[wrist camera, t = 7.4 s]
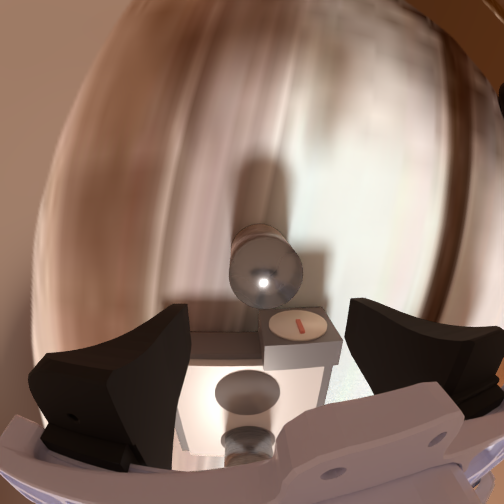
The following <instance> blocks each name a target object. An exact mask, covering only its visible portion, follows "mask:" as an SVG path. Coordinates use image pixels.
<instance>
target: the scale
mask: <svg viewBox="0 0 504 504" xmlns="http://www.w3.org/2000/svg"><path fill="white" fill-rule="evenodd" d="M190 334H191V342H192V346H191V354H190V361H189V365H188V369H187V372H186V376H185V380H184V383H183V387H182V390H181V394H180V397H179V401H178V406H177V412H176V420H175V429H176V432H177V435H178V439H179V442H180V445H181V448H182V451H190V454H191V455H201V456H225V436H226V434H227V433H228V432H229V431H231V430H233V429H235V428H239V427H245V426H253V427H259V428H262V429H265V430H266V431H268V432H269V433H270V435H271V441H272V448H273V455H274V450H275V441H276V438H277V436H278V435H279V433H280V431H281V429H282V428H283V426H284V425H285V424H286V423H288V422H289V421H291V420H292V419H294V418H295V417H297V416H298V415H300V414H301V413H303V412H304V411H306V410H310V409H313V408H317V407H320V406H323V405H324V403H325V399H326V394H327V390H328V386H329V381H330V377H331V372H332V367H333V365H338V363H339V358H340V353H341V348H342V343H343V339H342V338H341V336H340V335H339V333H338V331H337V330H336V328H335V327H334V325H333V324H332V322H331V320H330V319H329V317H328V316H327V314H326V312H325V311H324V309H323V308H322V307H310V308H288V309H259V314H258V332H190Z"/></svg>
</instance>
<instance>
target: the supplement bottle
mask: <svg viewBox="0 0 504 504" xmlns="http://www.w3.org/2000/svg"><path fill="white" fill-rule="evenodd" d="M499 101H500V106H501V110H502V113H503V116H504V83H503V84H502V85H501V86H500V89H499Z"/></svg>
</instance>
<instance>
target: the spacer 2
mask: <svg viewBox="0 0 504 504" xmlns="http://www.w3.org/2000/svg"><path fill="white" fill-rule="evenodd" d="M272 457H273V448H272V441H271V435H270V433H269V432H268V431H266V430H265V429H262V428H259V427H253V426H245V427H239V428H235V429H233V430H231V431H229V432H228V433H227V434H226V436H225V462H224V468H225V467H231V466H237V465H243V464H248V463H253V462H258V461H263V460H267V459H272Z"/></svg>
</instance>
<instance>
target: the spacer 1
mask: <svg viewBox="0 0 504 504" xmlns="http://www.w3.org/2000/svg"><path fill="white" fill-rule="evenodd" d="M302 278H303V268H302V263H301V261H300V258H299V256H298V255H297V253H296V252H295V251H294V249H293V248H292V247H291V246H290V244H289V243H288V242H287V241H286V239H285V238H284V237H283V235H282V234H281V233H280V232H279V231H278V230H277V229H275V228H274V227H272V226H269V225H265V224H254V225H250V226H248V227H246V228H244V229H242V230H241V231H240V232H239V233H238V234H237V235H236V237H235V238H234V240H233V243H232V247H231V256H230V268H229V281H230V285H231V288H232V290H233V292H234V294H235V295H236V296H237V297H238V298H239V299H240V300H241V301H242V302H243V303H245V304H247V305H248V306H251V307H254V308H258V309H271V308H276V307H279V306H281V305H283V304H285V303H286V302H288V301H289V300H290V299H291V298H292V297H293V296H294V295H295V294H296V293H297V291H298V289H299V288H300V285H301V282H302Z"/></svg>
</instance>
